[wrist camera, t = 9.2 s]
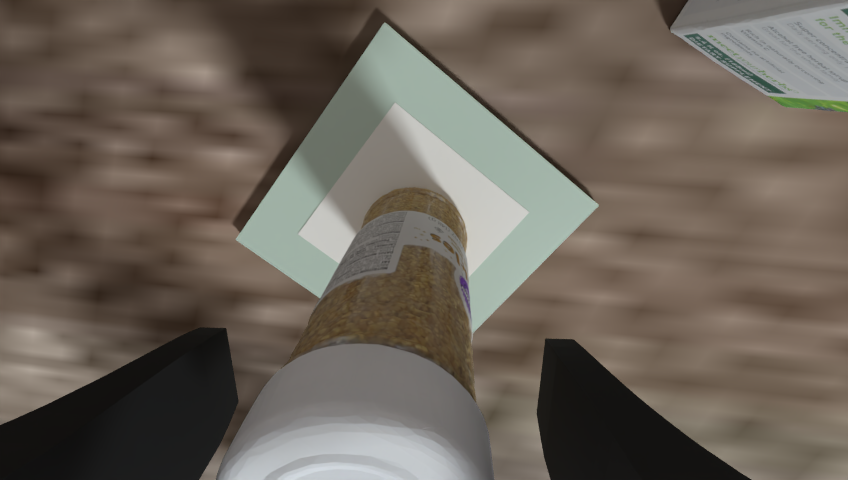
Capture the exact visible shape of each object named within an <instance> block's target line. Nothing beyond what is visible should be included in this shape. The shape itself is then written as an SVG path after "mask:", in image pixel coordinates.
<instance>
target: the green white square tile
mask: <svg viewBox="0 0 848 480" xmlns="http://www.w3.org/2000/svg"><path fill="white" fill-rule="evenodd" d="M410 187H416V188H423V189H428V190H431V191H433V192H436V193H438V194H441V195H442V196H443V197H445V198H446V199H447V200H448V201H449V202H451V203H452V204H453V205H454V206H455V207H456V209H457V210H458V212H459V213H460V215H461V217H462V219H463V220H464V223H465V227H466V232H467V248H466V252H465V253H466V257H467V263H468V275H469V294H470V309H471V319H472V333H473V332H474V331H475V330H476V329H477V328H478V327H479V326H480V325H481V324H482V323H483V322H484V321H485V320H486V319H487V318H488V317H489V316H490V315H491V314H492V313H493V312H494V311H495V310H496V309H497V308H498V307H499V306H500V305H501V304H502V303H503V302H504V301H505V300H506V299H507V298H508V297H509V296H510V295H511V294H512V293H513V292H514V291H515V290H516V289H517V288H518V287H519V286H520V285H521V284H522V283H523V282H524V281H525V280H526V279H527V278H528V277H529V276H530V275H531V274H532V273H533V272H534V271H535V270H536V269H537V268H538V267H539V266H540V265H541V264H542V263H543V262H544V261H545V260H546V259H547V258H548V257H549V256H550V255H551V254H552V253H553V252H554V250H555V249H556V248H557V247H558V246H559V245H560V244H561V243H562V242H563V241H564V240H565V239H566V238H567V237H568V236H569V235H570V234H571V233H572V232H573V231H574V230H575V229H576V228H577V227H578V226H579V225H580V224H581V223H582V222H583V221H584V220H585V219H586V218H587V217H588V216H589V215H590V214H591V213H592V212H593V211H594V210H595V209H596V208H597V207H598V206H599V205H598V204H597V203H596V202H595V201H594V200H592V199H591V198H590V197H589V196H588V195H587V194H585V193H584V192H583V191H582V190H581V189H580V188H578V187H577V186H576V185H575V184H574V183H573V182H571V181H570V180H569V179H568V178H567V177H566V176H564V175H563V174H562V173H561V172H560V171H559V170H557V169H556V168H555V167H554V166H553V165H552V164H550V163H549V162H548V161H547V160H546V159H544V158H543V157H542V156H541V155H540V154H539V153H537V152H536V151H535V150H534V149H533V148H532V147H530V146H529V145H528V144H527V143H526V142H525V141H523V140H522V139H521V138H520V137H519V136H518V135H516V134H515V133H514V132H513V131H512V130H511V129H509V128H508V127H507V126H506V125H505V124H504V123H502V122H501V121H500V120H499V119H498V118H497V117H495V116H494V115H493V114H492V113H491V112H490V111H488V110H487V109H486V108H485V107H484V106H483V105H481V104H480V103H479V102H478V101H477V100H475V99H474V98H473V97H472V96H471V95H470V94H468V93H467V92H466V91H465V90H464V89H463V88H461V87H460V86H459V85H458V84H457V83H456V82H454V81H453V80H452V79H451V78H450V77H449V76H447V75H446V74H445V73H444V72H443V71H442V70H440V69H439V68H438V67H437V66H436V65H435V64H433V63H432V62H431V61H430V60H429V59H428V58H426V57H425V56H424V55H423V54H422V53H421V52H419V51H418V50H417V49H416V48H415V47H413V46H412V45H411V44H410V43H409V42H408V41H406V40H405V39H404V38H403V37H402V36H401V35H399V34H398V33H397V32H396V31H395V30H394V29H392V28H391V27H390V26H389V25H388V24H387V23H385V22H384V24H383V25H382V27H381V28H380V30H379V31H378V33H377V34H376V35H375V37H374V38H373V40H372V41H371V43H370V44H369V46H368V47H367V49H366V50H365V52H364V53H363V54H362V56H361V57H360V59H359V60H358V62H357V63H356V65H355V66H354V68H353V69H352V71H351V72H350V73H349V75H348V76H347V78H346V79H345V81H344V82H343V84H342V85H341V87H340V88H339V89H338V91H337V92H336V94H335V95H334V97H333V98H332V100H331V101H330V103H329V104H328V106H327V107H326V108H325V110H324V111H323V113H322V114H321V116H320V117H319V119H318V120H317V122H316V123H315V125H314V126H313V127H312V129H311V130H310V132H309V133H308V135H307V136H306V138H305V139H304V141H303V142H302V144H301V145H300V146H299V148H298V149H297V151H296V152H295V154H294V155H293V157H292V158H291V160H290V161H289V162H288V164H287V165H286V167H285V168H284V170H283V171H282V173H281V174H280V176H279V177H278V179H277V180H276V181H275V183H274V184H273V186H272V187H271V189H270V190H269V192H268V193H267V195H266V196H265V198H264V199H263V200H262V202H261V203H260V205H259V206H258V208H257V209H256V211H255V212H254V214H253V215H252V217H251V218H250V219H249V221H248V222H247V224H246V225H245V227H244V228H243V230H242V231H241V233H240V234H239V235H238V237H237V238H236V240H237V241H238V242H240V243H241V244H242V245H244V246H245V247H247V248H248V249H250V250H251V251H253V252H254V253H255V254H257V255H258V256H260V257H261V258H263V259H264V260H266V261H267V262H268V263H270V264H271V265H273V266H274V267H276V268H277V269H279V270H280V271H281V272H283V273H284V274H286V275H287V276H289V277H290V278H292V279H293V280H294V281H296V282H297V283H299V284H300V285H302V286H303V287H305V288H306V289H307V290H309V291H310V292H312V293H313V294H315V295H316V296H318V297H319V298H321V296H322V294H323V292H324V291H325V289H326V287H327V285H328V283H329V282H330V280H331V278H332V276H333V274H334V272H335V271H336V269H337V267H338V265H339V263H340V262H341V260H342V258H343V256H344V255H345V253H346V251H347V249H348V248H349V246H350V244H351V243H352V241H353V239H354V238H355V236H356V235H357V233H358V232H359V231H360V230H361V227H362V225H363V221H364V217H365V215H366V213H367V211H368V210H369V209H370V207H371V206H372V204H373V203H374V202H376V201H377V200H378V199H379V198H380V197H382V196H383V195H385V194H388V193H389V192H391V191H393V190H394V189H401V188H410Z"/></svg>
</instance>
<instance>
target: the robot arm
mask: <svg viewBox="0 0 848 480" xmlns="http://www.w3.org/2000/svg"><path fill="white" fill-rule="evenodd" d="M237 404H238V396H237V390H236V384H235V378H234V372H233V366H232V360H231V354H230V348H229V342H228V337H227V331H226V328H198V329H195V330H193V331H191V332H188V333H186V334H184V335H182V336H180V337H178V338H176V339H174V340H172V341H170V342H168V343H166V344H164V345H163V346H161V347H159V348H157V349H155V350H153V351H151V352H149V353H147V354H146V355H144V356H142V357H140V358H138V359H136V360H134V361H132V362H130V363H129V364H127V365H125V366H123V367H121V368H119V369H117V370H115V371H113V372H112V373H110V374H108V375H106V376H104V377H102V378H100V379H98V380H96V381H94V382H92V383H90V384H88V385H86V386H84V387H82V388H80V389H78V390H75V391H73V392H71V393H69V394H67V395H65V396H63V397H61V398H59V399H57V400H55V401H53V402H51V403H49V404H47V405H45V406H43V407H40V408H38V409H36V410H34V411H32V412H29V413H27V414H25V415H23V416H20V417H18V418H16V419H14V420H11V421H9V422H7V423H4V424H2V425H0V480H199V479H200V477H201V475H202V474H203V472H204V470H205V469H206V467H207V465H208V464H209V462H210V460H211V459H212V457H213V455H214V453H215V452H216V450H217V448H218V447H219V445H220V443H221V441H222V439H223V436H224V434H225V432H226V430H227V428H228V426H229V423H230V421H231V418H232V416H233V414H234V411H235V409H236V406H237ZM537 418H538V424H539V430H540V436H541V442H542V448H543V453H544V458H545V462H546V465H547V469H548V472H549V475H550V479H551V480H751V479H749V478H748V477H746V476H745V475H743V474H742V473H740V472H738V471H737V470H735V469H734V468H733V467H731V466H730V465H728V464H727V463H725V462H724V461H722V460H721V459H719V458H718V457H716V456H715V455H713V454H712V453H710V452H709V451H707V450H706V449H705V448H703V447H702V446H700V445H699V444H697V443H696V442H695V441H693V440H692V439H691V438H689V437H688V436H686V435H685V434H684V433H683V432H681V431H680V430H679V429H677V428H676V427H675V426H674V425H672V424H671V423H670V422H668V421H667V420H666V419H665V418H663V417H662V416H661V415H659V414H658V413H657V412H656V411H654V410H653V409H652V408H651V407H649V406H648V405H647V404H646V403H645V402H643V401H642V400H641V399H640V398H639V397H637V396H636V395H635V394H634V393H633V392H632V391H630V390H629V389H628V388H627V387H626V386H625V385H624V384H622V383H621V382H620V381H619V380H618V379H617V378H616V377H615V376H613V375H612V374H611V373H610V372H609V371H608V370H607V369H606V368H605V367H604V366H602V365H601V364H600V363H599V362H598V361H597V360H596V359H595V358H594V357H593V356H592V355H590V354H589V353H588V352H587V351H586V350H585V349H584V348H583V347H582V346H581V345H579V344H578V343H577V342H576V341H575V340H573V339H545V347H544V355H543V364H542V373H541V381H540V390H539V398H538V407H537Z"/></svg>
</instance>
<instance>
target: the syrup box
mask: <svg viewBox="0 0 848 480" xmlns="http://www.w3.org/2000/svg"><path fill="white" fill-rule="evenodd" d="M670 30H671V32H672V33H674V34H675V35H677V36H679V37H680V38H682V39H683V40H684V41H686V42H687V43H688V44H690V45H691V46H693V47H694V48H696V49H697V50H699V51H700V52H702V53H703V54H704V55H706V56H707V57H708V58H710V59H711V60H712V61H714V62H715V63H717V64H719V65H720V66H722V67H723V68H725V69H726V70H728V71H729V72H731V73H732V74H734V75H735V76H737V77H738V78H740V79H741V80H743V81H745V82H746V83H748V84H749V85H751V86H753V87H754V88H756V89H757V90H759V91H760V92H762V93H763V94H765V95H767V96H769V97H770V98H772V99H773V100H775V101H777V102H778V103H779V104H781V105H782V106H785V107H792V108H806V109H818V110H827V111H839V112H848V0H688V2H687V3H686V5H685V6H684V7H683V9H682V11H681V12H680V14H679V15H678V17H677V18H676V20H675V21H674V23H673V24H672V26H671V28H670Z"/></svg>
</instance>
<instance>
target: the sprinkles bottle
mask: <svg viewBox="0 0 848 480" xmlns="http://www.w3.org/2000/svg"><path fill="white" fill-rule="evenodd" d="M466 248H467V232H466V227H465V223H464V220H463V219H462V217H461V215H460V213H459V212H458V210H457V209H456V207H455V206H454V205H453V204H452V203H451V202H449V201H448V200H447V199H446V198H445V197H443V196H442V195H441V194H438V193H436V192H433V191H431V190H428V189H423V188H416V187H410V188H401V189H394V190H393V191H391V192H389V193H388V194H385V195H383V196H382V197H380V198H379V199H378V200H377V201H376V202H374V203H373V204H372V206H371V207H370V209H369V210H368V211H367V213H366V215H365V217H364V221H363V225H362V227H361V230H360V231H359V232H358V233H357V235H356V236H355V238H354V239H353V241H352V243H351V244H350V246H349V248H348V249H347V251H346V253H345V255H344V256H343V258H342V260H341V262H340V263H339V265H338V267H337V269H336V271H335V272H334V274H333V276H332V278H331V280H330V282H329V283H328V285H327V287H326V289H325V291H324V292H323V294H322V296H321V298H320V299H319V301H318V303H317V305H316V306H315V308H314V310H313V312H312V314H311V316H310V319H309V322H308V326H307V328H306V329H305V331H304V333H303V335H302V337H301V339H300V341H299V343H298V344H297V346H296V347H295V350H294V351H293V353H292V354H291V357H290V360H289V361H288V362H287V363H286V364H285V365H284V366H283V367H282V368H281V369H280V370H279V371H278V372H276V373H275V374H274V375H273V376H272V378H271V379H270V380H269V381H268V382H267V384H266V385H265V386H264V388H263V389H262V391H261V392H260V394H259V395H258V397H257V399H256V400H255V402H254V404H253V405H252V407H251V409H250V411H249V412H248V414H247V416H246V418H245V419H244V421H243V423H242V425H241V427H240V428H239V430H238V432H237V434H236V436H235V438H234V439H233V441H232V443H231V445H230V447H229V448H228V450H227V452H226V454H225V456H224V458H223V461H222V463H221V466H220V468H219V471H218V473H217V478H216V480H494V472H493V464H492V455H491V447H490V439H489V432H488V429H487V426H486V422H485V419H484V417H483V414H482V412H481V411H480V409H479V407H478V406H477V404H476V395H475V389H474V372H473V359H472V354H473V351H472V346H471V344H472V338H473V334H472V319H471V309H470V294H469V275H468V263H467V257H466V253H465V252H466Z"/></svg>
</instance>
